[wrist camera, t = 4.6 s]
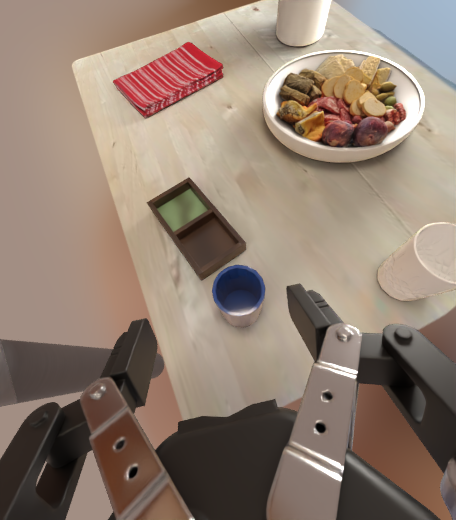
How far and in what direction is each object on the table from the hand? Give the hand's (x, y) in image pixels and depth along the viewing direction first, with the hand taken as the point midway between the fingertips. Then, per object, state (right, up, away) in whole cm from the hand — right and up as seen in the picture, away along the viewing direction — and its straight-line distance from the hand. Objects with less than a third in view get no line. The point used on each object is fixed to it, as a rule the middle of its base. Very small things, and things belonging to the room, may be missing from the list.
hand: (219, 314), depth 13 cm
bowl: (+23, +33, +37) cm, 55 cm away
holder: (-5, +9, +29) cm, 31 cm away
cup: (+2, -4, +23) cm, 23 cm away
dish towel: (-14, +49, +47) cm, 69 cm away
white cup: (+27, 0, +23) cm, 35 cm away
